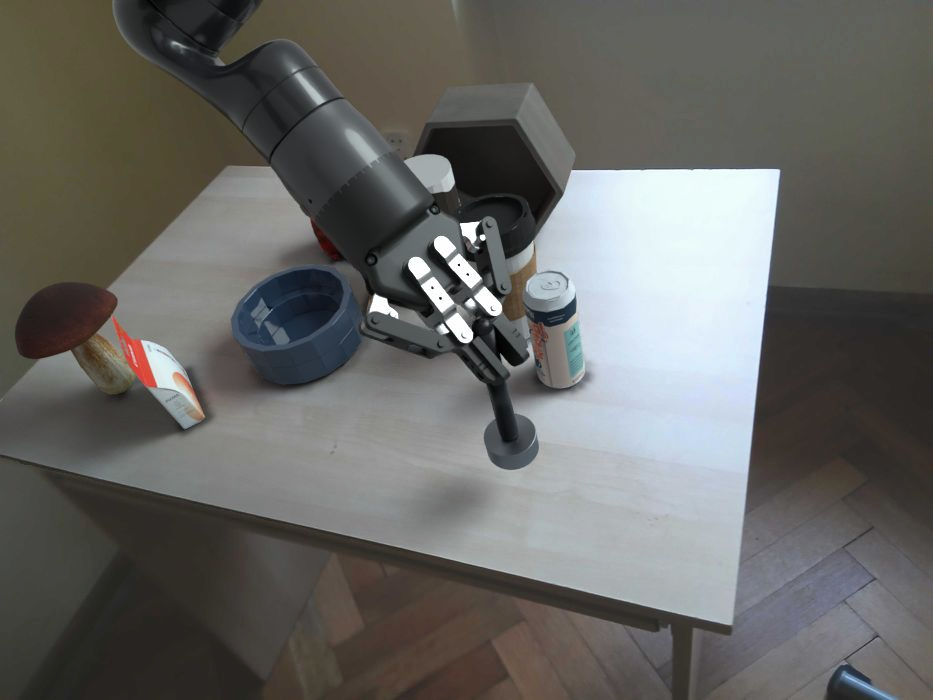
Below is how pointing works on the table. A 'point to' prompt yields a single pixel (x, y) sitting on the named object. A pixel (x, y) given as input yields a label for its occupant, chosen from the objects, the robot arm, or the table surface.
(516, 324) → the coffee cup
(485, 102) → the grey hexagonal shelf
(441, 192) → the cup
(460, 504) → the table surface
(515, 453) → the rod on round base
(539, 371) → the beer can
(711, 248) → the table surface
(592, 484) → the table surface
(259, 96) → the robot arm
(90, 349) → the decorative mushroom
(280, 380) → the bowl
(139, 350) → the ink box
